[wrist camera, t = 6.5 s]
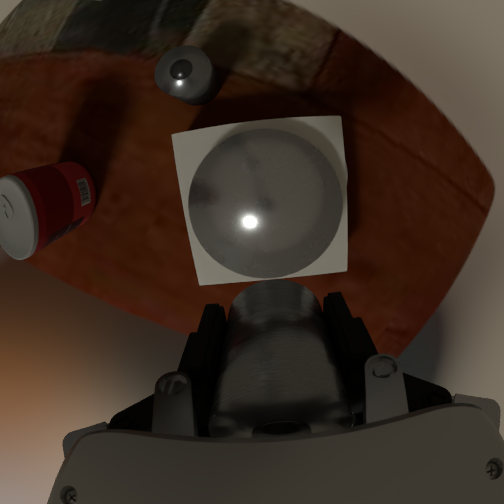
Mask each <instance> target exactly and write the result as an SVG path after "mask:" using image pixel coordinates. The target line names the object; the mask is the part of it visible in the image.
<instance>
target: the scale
mask: <svg viewBox="0 0 504 504" xmlns="http://www.w3.org/2000/svg"><path fill="white" fill-rule="evenodd" d="M254 129H276V130H282V131H286V132H290V133H292V134H295V135H297V136H300V137H301V138H303V139H305V140H307V141H309V142H310V143H311V144H313V145H314V146H315V147H317V148H318V149H319V150H320V151H321V152H322V153H323V154H324V155H325V157H326V158H327V159H328V161H329V162H330V163H331V165H332V167H333V169H334V170H335V172H336V175H337V177H338V180H339V183H340V187H341V191H342V200H343V205H342V216H341V221H340V224H339V228H338V231H337V233H336V235H335V237H334V239H333V241H332V242H331V244H330V245H329V247H328V248H327V249H326V251H325V252H324V253H323V254H322V255H321V256H320V257H319V258H318V259H317V260H316V261H314V262H313V263H312V264H310V265H309V266H307V267H306V268H304V269H302V270H300V271H298V272H296V273H293V274H290V275H287V276H283V277H278V278H288V277H298V276H307V275H317V274H326V273H334V272H343V271H347V244H348V223H347V187H346V186H347V181H348V173H347V166H346V162H345V154H344V142H343V132H342V122H341V116H311V117H292V118H278V119H267V120H257V121H249V122H241V123H233V124H226V125H220V126H214V127H208V128H202V129H197V130H192V131H187V132H182V133H177V134H172V141H173V148H174V155H175V162H176V168H177V174H178V180H179V186H180V192H181V197H182V203H183V208H184V214H185V219H186V224H187V229H188V234H189V239H190V244H191V249H192V253H193V258H194V263H195V267H196V272H197V276H198V280H199V285H210V284H222V283H234V282H246V281H257V280H268V279H278V278H265V279H263V278H253V277H248V276H244V275H241V274H238V273H235V272H233V271H231V270H229V269H227V268H225V267H224V266H222V265H220V264H219V263H218V262H217V261H215V260H214V259H213V258H212V257H211V256H210V255H209V254H208V253H207V252H206V251H205V250H204V248H203V247H202V246H201V244H200V243H199V241H198V239H197V237H196V235H195V233H194V231H193V228H192V225H191V221H190V217H189V210H188V197H189V190H190V186H191V182H192V179H193V176H194V174H195V172H196V170H197V168H198V166H199V165H200V163H201V162H202V160H203V159H204V158H205V156H206V155H207V154H208V153H209V152H210V151H211V150H212V149H213V148H214V147H215V146H217V145H218V144H219V143H221V142H222V141H224V140H225V139H227V138H229V137H231V136H233V135H235V134H238V133H241V132H244V131H249V130H254Z"/></svg>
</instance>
